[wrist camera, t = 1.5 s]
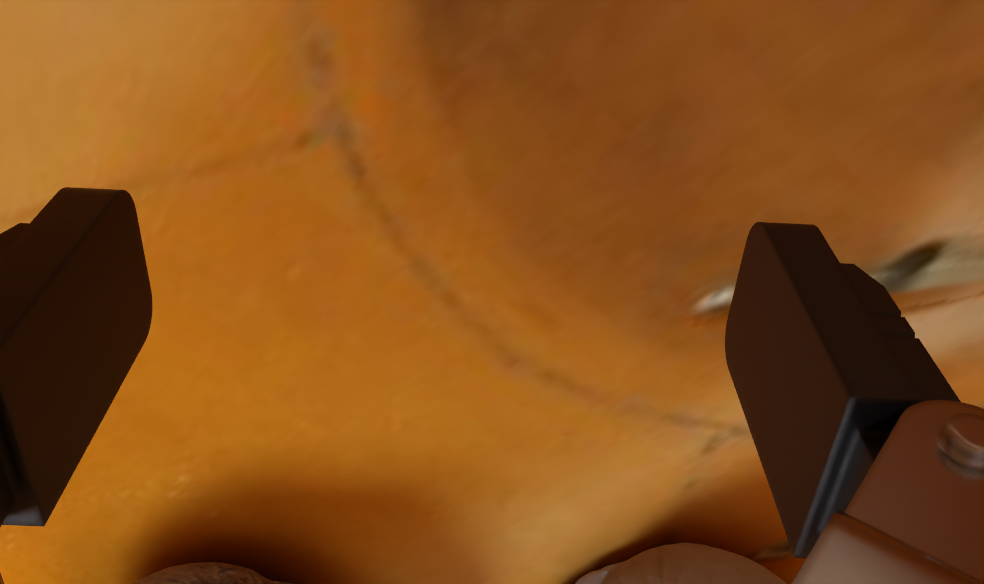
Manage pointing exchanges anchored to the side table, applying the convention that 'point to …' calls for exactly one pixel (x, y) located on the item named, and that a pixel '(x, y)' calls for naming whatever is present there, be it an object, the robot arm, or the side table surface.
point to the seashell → (683, 568)
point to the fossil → (206, 575)
